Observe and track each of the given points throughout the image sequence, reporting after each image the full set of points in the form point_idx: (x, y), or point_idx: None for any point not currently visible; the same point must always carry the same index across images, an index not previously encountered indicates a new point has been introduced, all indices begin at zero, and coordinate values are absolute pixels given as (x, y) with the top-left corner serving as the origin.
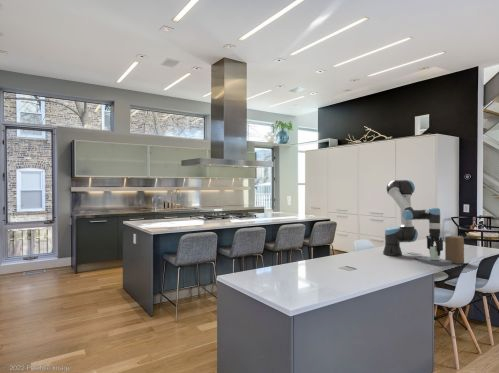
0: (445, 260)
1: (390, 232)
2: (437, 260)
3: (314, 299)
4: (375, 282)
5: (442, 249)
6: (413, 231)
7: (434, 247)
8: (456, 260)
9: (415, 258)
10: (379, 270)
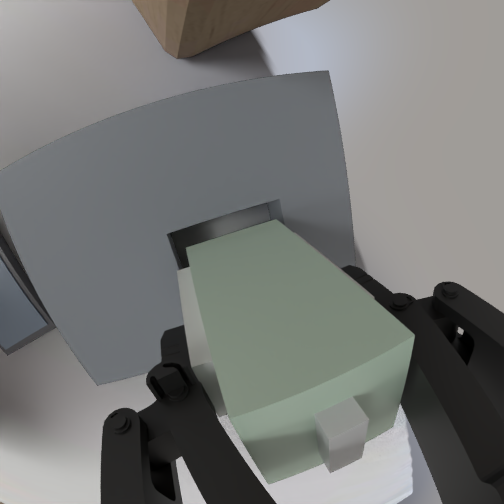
0: (270, 117)
1: None
2: (217, 214)
3: (404, 494)
4: (398, 477)
5: (465, 300)
6: None
7: (378, 434)
8: (323, 1)
9: (15, 348)
10: (317, 497)
